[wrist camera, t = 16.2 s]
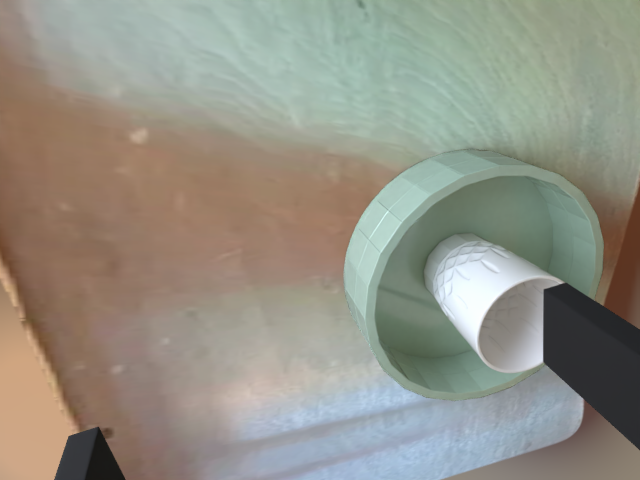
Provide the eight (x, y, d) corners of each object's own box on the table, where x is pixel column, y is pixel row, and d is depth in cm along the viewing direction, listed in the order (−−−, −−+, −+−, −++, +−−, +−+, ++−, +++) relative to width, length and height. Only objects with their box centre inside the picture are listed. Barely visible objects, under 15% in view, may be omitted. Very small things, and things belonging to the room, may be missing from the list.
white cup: (513, 243, 43) (597, 295, 34) (468, 316, 45) (537, 384, 36) (445, 212, 40) (516, 260, 31) (400, 291, 42) (456, 358, 33)
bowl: (353, 148, 37) (379, 165, 32) (577, 150, 42) (634, 165, 36) (335, 369, 44) (355, 413, 39) (528, 349, 49) (569, 386, 44)
